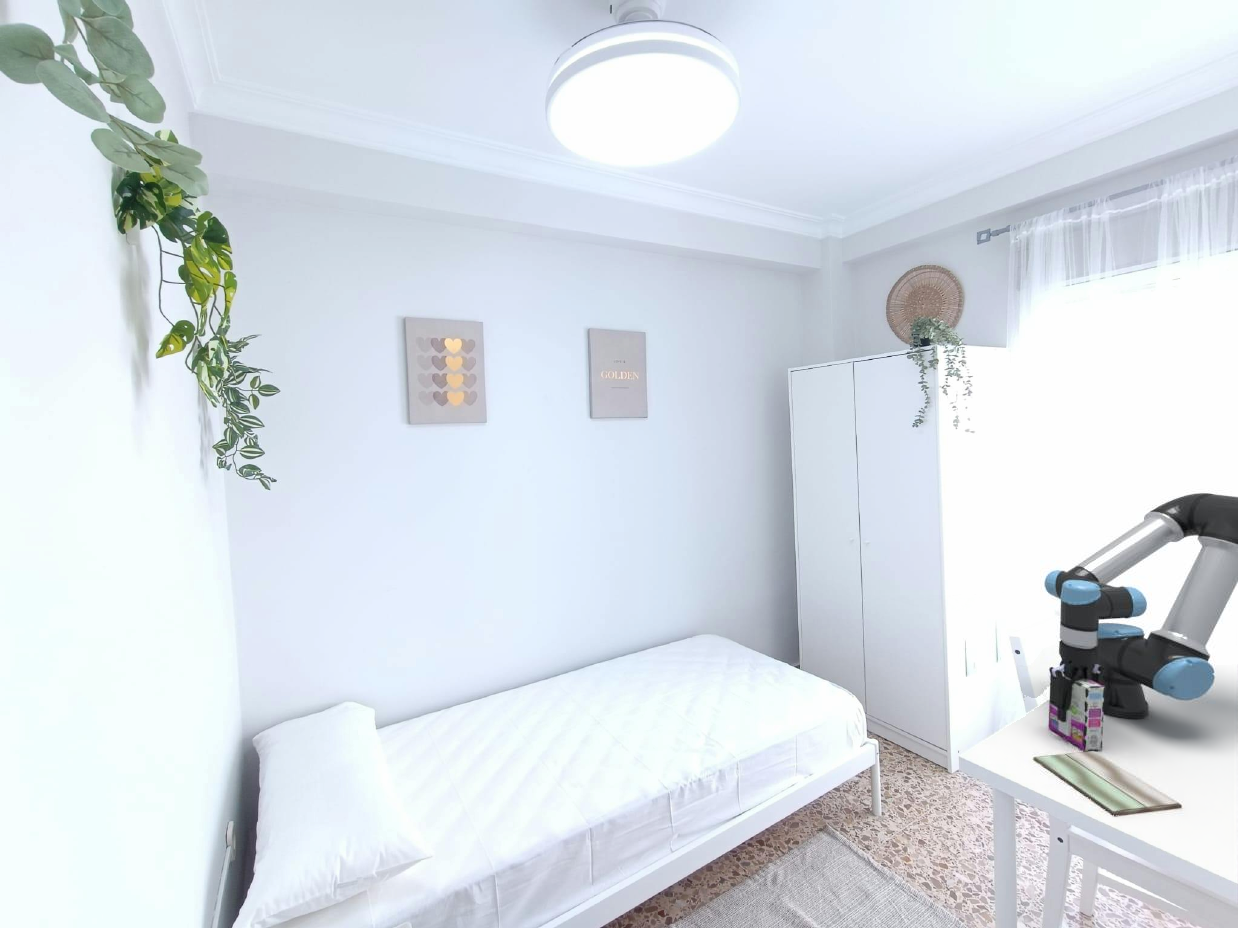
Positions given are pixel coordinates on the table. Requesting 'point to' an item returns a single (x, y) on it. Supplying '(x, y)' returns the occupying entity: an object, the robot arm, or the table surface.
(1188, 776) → the table surface
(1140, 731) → the table surface
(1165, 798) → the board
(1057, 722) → the candy bar box
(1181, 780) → the table surface
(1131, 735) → the table surface
